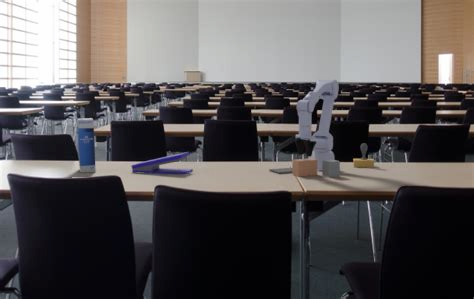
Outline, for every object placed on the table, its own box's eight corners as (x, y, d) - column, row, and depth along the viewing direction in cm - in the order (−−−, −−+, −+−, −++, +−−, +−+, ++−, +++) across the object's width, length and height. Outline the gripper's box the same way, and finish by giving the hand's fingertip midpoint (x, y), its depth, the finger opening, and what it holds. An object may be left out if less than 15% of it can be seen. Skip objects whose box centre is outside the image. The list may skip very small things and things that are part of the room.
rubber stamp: (373, 166, 270) (373, 142, 269) (373, 167, 265) (374, 143, 263) (353, 165, 272) (353, 142, 271) (353, 167, 267) (354, 143, 265)
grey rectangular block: (332, 174, 245) (333, 159, 244) (339, 176, 240) (339, 161, 239) (322, 175, 243) (322, 160, 242) (328, 177, 238) (329, 161, 237)
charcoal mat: (291, 169, 262) (291, 167, 262) (301, 172, 253) (301, 170, 253) (269, 170, 257) (269, 169, 257) (278, 174, 248) (278, 172, 248)
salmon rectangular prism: (311, 173, 250) (311, 158, 249) (317, 174, 245) (317, 159, 244) (292, 174, 246) (292, 159, 245) (298, 176, 241) (298, 161, 240)
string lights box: (96, 172, 258) (93, 119, 255) (79, 173, 256) (77, 119, 253) (94, 168, 271) (92, 117, 268) (79, 169, 269) (76, 118, 266)
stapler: (185, 175, 250) (184, 154, 248) (130, 173, 257) (130, 153, 255) (193, 171, 261) (193, 151, 259) (140, 169, 268) (140, 150, 266)
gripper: (289, 125, 248) (289, 154, 250) (305, 127, 235) (305, 157, 236) (303, 124, 251) (302, 153, 252) (319, 126, 237) (318, 156, 239)
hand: (304, 155), depth 244 cm, fingers open, 7 cm apart
